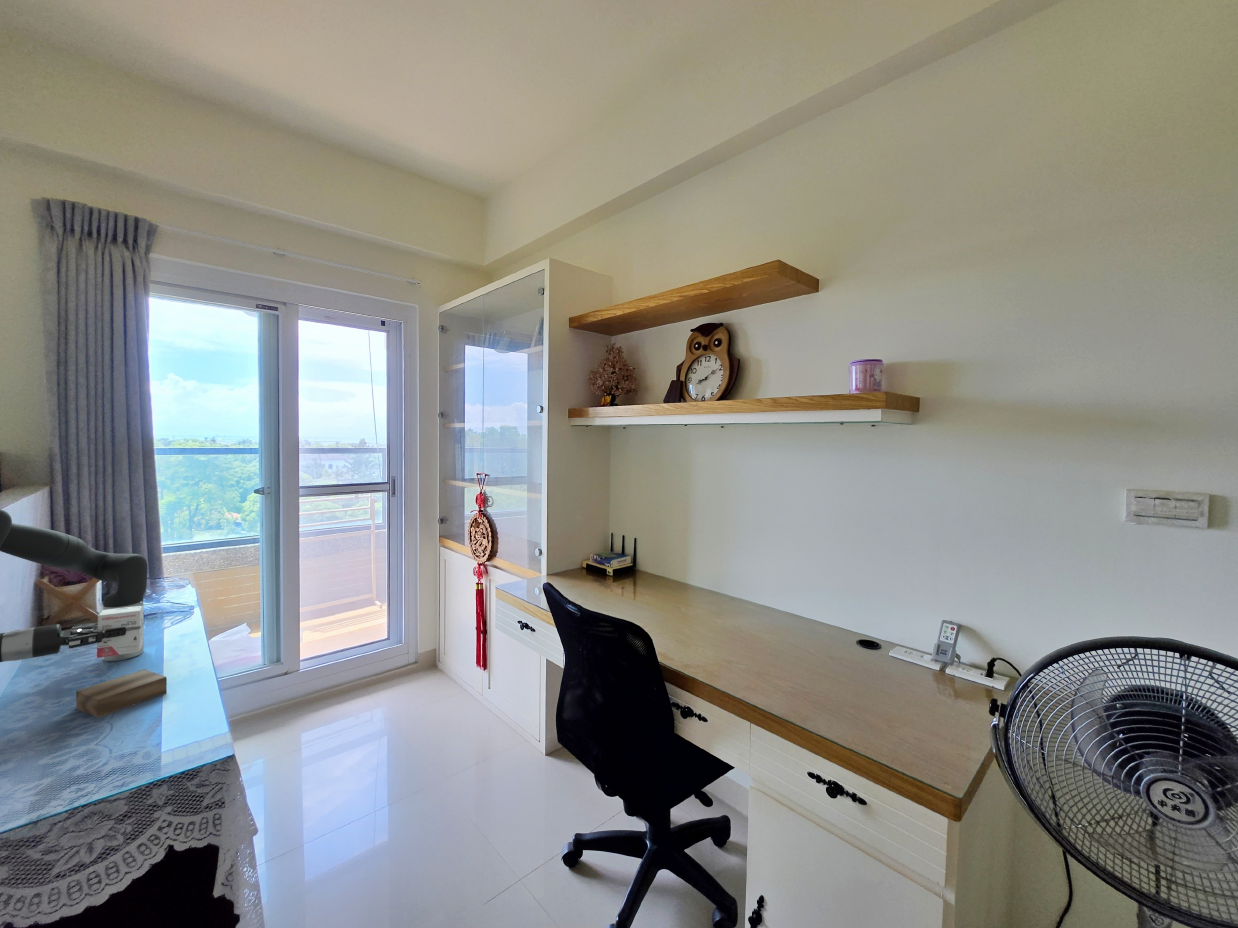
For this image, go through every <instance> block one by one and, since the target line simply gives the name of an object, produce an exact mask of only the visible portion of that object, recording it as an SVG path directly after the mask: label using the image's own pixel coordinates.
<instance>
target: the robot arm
mask: <svg viewBox="0 0 1238 928" xmlns="http://www.w3.org/2000/svg"><path fill="white" fill-rule="evenodd" d="M0 552H1V553H5V554H8V555H10V556H13V557H15V558H18V559H19V558H20V559H23V560H26V561H28V562H29V561H30V562H32V563H36V564H39V565H42V566H43V565H44V566H48V567H52V568H56V569H61V570H66V571H72V572H78V573H80V574H83V575H86V576H88V577H90V578H93V579H95V580H98V581H101V582H104V583H113V584H114V583H115V584H116V583H117V589H116V591H115V592H113V593H109V594H107V595H105V596H104V597H103V600H102V611H103V610H107V609H116V608H125V607H134V606H142V607H143V608H144V596H145V594H146V591H147V585H148V584H147V581H148V580H147V579H148V562H147V559H146V557H145V556H144V555H142V554H140V553H112V552H104V551H100V550H96V549H93V548H91V547H89V546H88V544H87V543H86V542H85V541H84V540H83V539H80V538H79V537H76V536H74V535H70V534H67V533H64V532H61V531H57V530H52V529H48V528H45V527H38V526H34V525H33V526H32V525H26V524H18V523H14V522H13V519H12V517H11V515H10V513H9V512H8V511H6V510H4V509H2V508H0ZM144 620H145V619H144V613H143V644H142V648H141V650H140V651H139V652H133V653H127V654H120V655H114V656H107V657H103V660H104V662H105V661H106V662H114V661H115V662H117V661H123V660H128V659H131V658H135V657H137V656H140V655H141V654H143V653H144V648H145V647H144V644H145V643H144V641H145V640H144V639H145V636H144V635H145V634H144V631H145V629H144V626H145V625H144V624H145V622H144ZM125 634H126V627H120V628H113V629H107V630H98V621H97V622H92V623H91V622H89V623H81V624H74V625H73V626H72V627H71V628H69V629H64V630H62V625H61V624H59V623H56V624H54V623H53V624H49V625H41V626H34V627H29V628H27V627H26V628H22V629H15V630H12V631H7V632H1V633H0V663H4V662H13V661H22V660H27V659H28V660H29V659H34V658H39V657H46V656H51V655H56V654H58V653H60V652H61V649H62V646H68V649H75V648H79V647H85V646H90V645H94V644H97V643H100V642H102V640H105V639H106V638H112V637H118V636H124V635H125Z"/></svg>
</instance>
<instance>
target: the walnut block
mask: <svg viewBox="0 0 1238 928" xmlns="http://www.w3.org/2000/svg"><path fill="white" fill-rule="evenodd" d="M167 678H168V677H167V676H166V675H162V674H160V673H157V672H153V671H151V670H148V669H141V670H138V671H134V672H131V673H129V674H125V675H122V676H118V677H115V678H113V679H112V678H111V679H109V680H107V681H102V682H100V683H96V684H94V685H93V684H92V685H91V686H90V685H89V686H87V687H84V688H81V689H77V690H76V691H75V693H76V694H75V701H76V704H75V705H76V706H75V708H76V709H77V710H79V711H81V712H83V713H86V714H88V715H90V716H92V717H94V718H96V719H100V718H102V717H104V716H108V715H111V714H114V713H116V712H118V711H122V710H124V709H127V708H129V707H133V706H135V705H138V704H140V703H144V702H147V701H150V700H152V699H154V698H158V697H159V696H163V695H165V694H167V691H168V690H167V685H168V684H167V681H168V680H167Z"/></svg>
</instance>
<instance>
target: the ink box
mask: <svg viewBox="0 0 1238 928" xmlns="http://www.w3.org/2000/svg"><path fill="white" fill-rule="evenodd" d="M143 614H144V606H143V607H142V606H134V607H125V608H116V609H107V610H103V609H102V610H101V611H100V612H99V613H98V615H97V622H98V627H97V629H98V630H107V629H113V628H120V627H126V634H125V635H124V636H118V637H112V638H106V639H105V640H102V642H100V643H96V658H97V659H99V658H104V657H107V656H114V655H120V654H127V653H133V652H139V651H140V650H141V648H142V644H143Z"/></svg>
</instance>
